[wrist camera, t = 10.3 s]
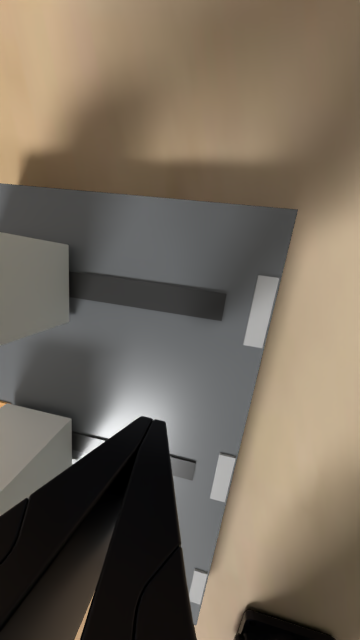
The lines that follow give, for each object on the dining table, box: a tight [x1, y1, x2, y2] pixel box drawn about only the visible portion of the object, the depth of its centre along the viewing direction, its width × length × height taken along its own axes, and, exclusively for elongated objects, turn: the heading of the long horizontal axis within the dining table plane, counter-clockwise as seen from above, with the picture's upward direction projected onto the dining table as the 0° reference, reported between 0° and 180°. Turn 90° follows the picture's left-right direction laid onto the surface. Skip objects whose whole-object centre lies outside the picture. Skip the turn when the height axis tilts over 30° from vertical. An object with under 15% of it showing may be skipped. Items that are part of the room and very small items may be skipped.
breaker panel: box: [0, 183, 298, 625], centre depth 13 cm, size 14×26×2 cm, turn 173°
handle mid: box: [0, 403, 72, 516], centre depth 10 cm, size 4×4×4 cm
